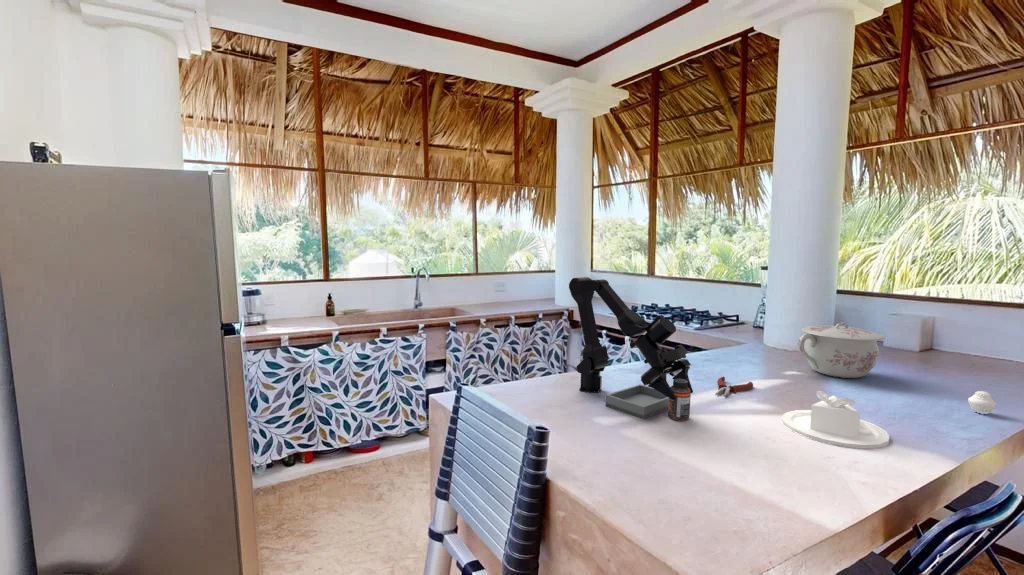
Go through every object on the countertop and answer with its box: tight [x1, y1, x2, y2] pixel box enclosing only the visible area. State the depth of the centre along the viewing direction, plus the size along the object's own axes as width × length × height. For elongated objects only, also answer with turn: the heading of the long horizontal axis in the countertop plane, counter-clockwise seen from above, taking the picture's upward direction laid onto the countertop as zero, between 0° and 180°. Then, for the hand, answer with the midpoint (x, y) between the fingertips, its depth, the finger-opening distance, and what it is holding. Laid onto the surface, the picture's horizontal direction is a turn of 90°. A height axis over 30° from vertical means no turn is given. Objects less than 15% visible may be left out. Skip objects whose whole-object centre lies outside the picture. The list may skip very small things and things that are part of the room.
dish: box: [781, 390, 891, 450], centre depth 133 cm, size 25×25×11 cm
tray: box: [605, 383, 669, 419], centre depth 150 cm, size 14×18×4 cm
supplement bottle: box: [667, 379, 692, 422], centre depth 140 cm, size 6×6×11 cm
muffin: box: [967, 390, 997, 413], centre depth 147 cm, size 6×6×7 cm
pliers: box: [715, 376, 754, 397], centre depth 167 cm, size 12×20×3 cm, turn 140°
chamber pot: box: [797, 321, 886, 379], centre depth 189 cm, size 28×28×21 cm
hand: (683, 396), depth 139 cm, fingers open, 9 cm apart
